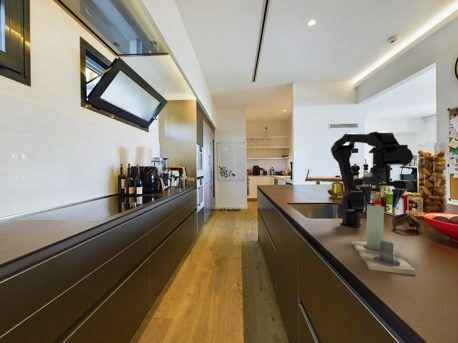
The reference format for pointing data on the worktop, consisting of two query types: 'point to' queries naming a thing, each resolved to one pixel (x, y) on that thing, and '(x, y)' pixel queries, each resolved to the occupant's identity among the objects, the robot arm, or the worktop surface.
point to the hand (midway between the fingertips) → (380, 205)
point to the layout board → (379, 266)
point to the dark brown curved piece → (407, 218)
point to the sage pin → (374, 227)
